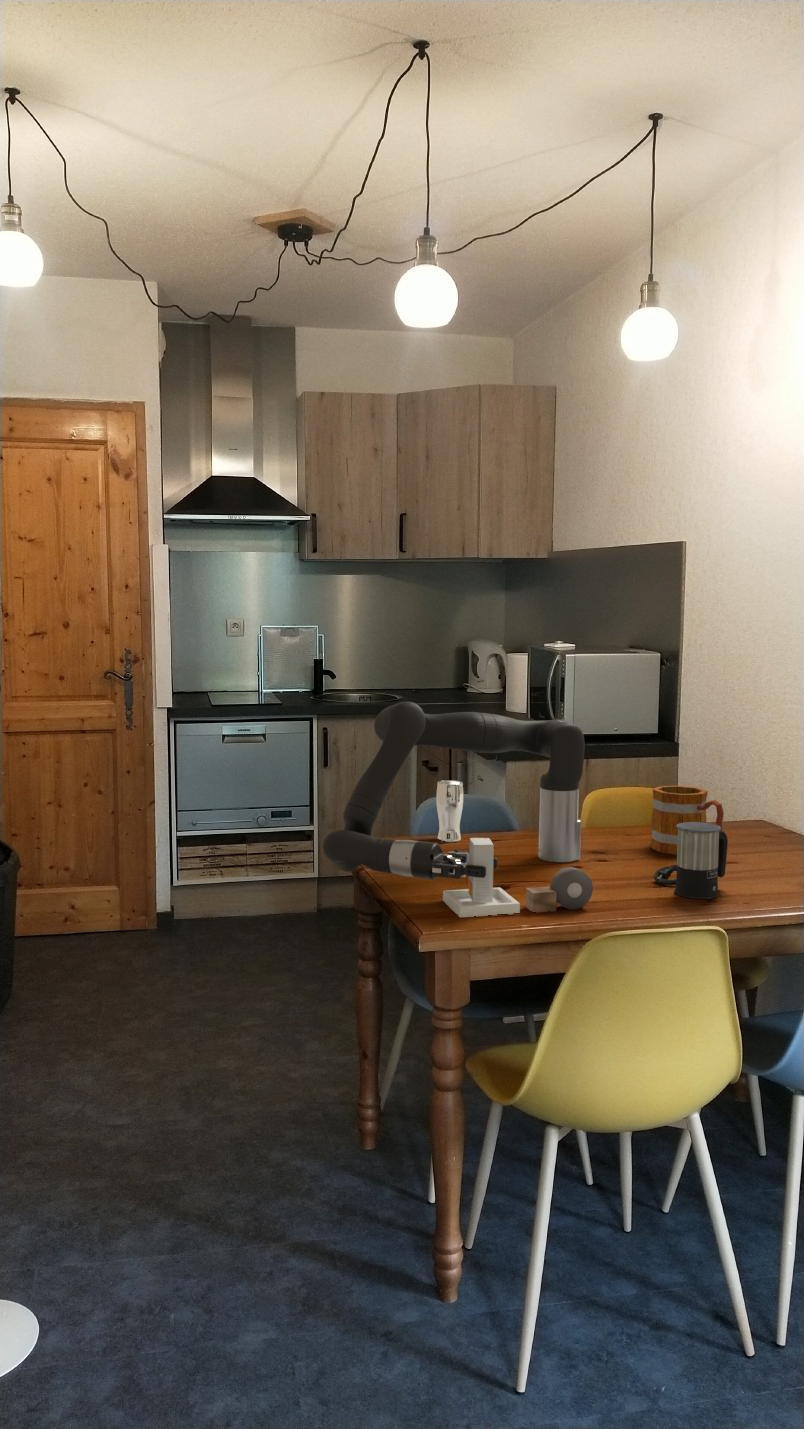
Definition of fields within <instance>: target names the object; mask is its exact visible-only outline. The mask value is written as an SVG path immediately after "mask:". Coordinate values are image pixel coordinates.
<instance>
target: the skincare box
mask: <svg viewBox="0 0 804 1429" xmlns="http://www.w3.org/2000/svg"><path fill="white" fill-rule="evenodd" d="M494 845H495V844H493V841H492V840H491V839H490V838H489V837H470V838H469V849H468V851H469V865H478V866H485V867H486V876H485V877H484V878H480V877H471V876H468V889H469V892H468V894H469V896H470V897H471V900H472V902H473V903H491V902H492V901H493V888H494V869H493V858H494V854H495V853H494V850H495V848H494V847H495V846H494Z"/></svg>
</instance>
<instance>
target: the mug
mask: <svg viewBox="0 0 804 1429" xmlns="http://www.w3.org/2000/svg"><path fill="white" fill-rule="evenodd" d="M652 798H653V801H652V802H653V804H652V813H651V828H652V829H651V832H652V833H651V834H652V835H651V843H650V848H651V850H652V849H653V850H654V851H656V852H659V853H663V854H671V855H677V843H678V828H677V824H679V823H685V822H703V823H707V809H709V808H710V807H711V806H712V805H713V806H715V808H716V819H715V824H716V825H718V826H720V828H721V829H720V830H722V831H723V821H724V815H725V814H724V809H723V805H722V804H721V802H719V801H717V800H716V799H713V800H708V801H707V798H708V790H706V789H702V788H701V787H695V786H686V785H685V786H684V785H659V786H657V787H655V788H652Z"/></svg>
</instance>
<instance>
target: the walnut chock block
mask: <svg viewBox="0 0 804 1429" xmlns="http://www.w3.org/2000/svg"><path fill="white" fill-rule="evenodd" d="M556 898H557V892H556V891H555V890H553V889H552V888H551V887H550V886H537V887H526V888H525V908H526V909H528V910H529V911H530V912H531V911H532V912H536V913H547V912H548V911H550V913H551V912H557V902H556ZM532 912H531V913H532ZM548 913H549V912H548Z"/></svg>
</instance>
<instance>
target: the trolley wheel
mask: <svg viewBox="0 0 804 1429" xmlns="http://www.w3.org/2000/svg"><path fill="white" fill-rule="evenodd" d="M549 887H551V888H552V889H553V890H555V891H556V892H557V898H556V903H557V904H560V905H561V907H563V908H565V909H568V910H579V909H581V908H583V907H584V906H586V904H588V902H590V899H592V898H591V897H592V895H593V890H594V886H593V882H592V880H591V878H590V877H589V875H588V874H586V873H585V872H584V871H583V870H580V869H579V868H577V867H573V866H567V867H563V868H561V869H560V870H558V871H556V873H555V874H554V875H553V877H552V879H551V881H550V886H549Z"/></svg>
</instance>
